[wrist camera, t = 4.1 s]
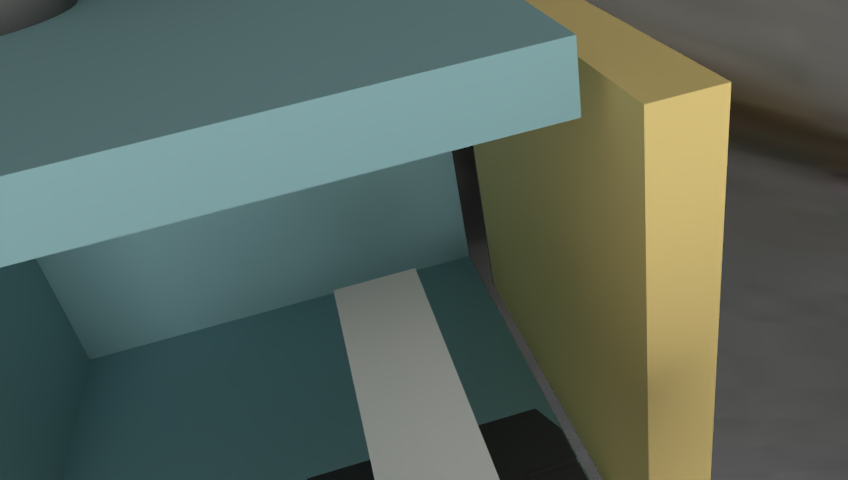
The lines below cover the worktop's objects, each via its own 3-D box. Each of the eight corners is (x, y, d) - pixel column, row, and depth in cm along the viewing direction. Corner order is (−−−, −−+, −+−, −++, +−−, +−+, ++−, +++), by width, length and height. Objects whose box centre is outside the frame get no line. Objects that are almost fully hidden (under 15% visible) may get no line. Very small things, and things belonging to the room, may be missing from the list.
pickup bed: (93, 394, 25) (8, 781, 15) (-140, -27, 18) (-594, 190, 8) (464, 290, 27) (609, 584, 17) (390, -141, 19) (568, -77, 9)
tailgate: (521, 267, 24) (486, 277, 24) (480, -74, 19) (433, -63, 19) (706, 557, 15) (649, 575, 15) (732, 51, 9) (643, 75, 9)
